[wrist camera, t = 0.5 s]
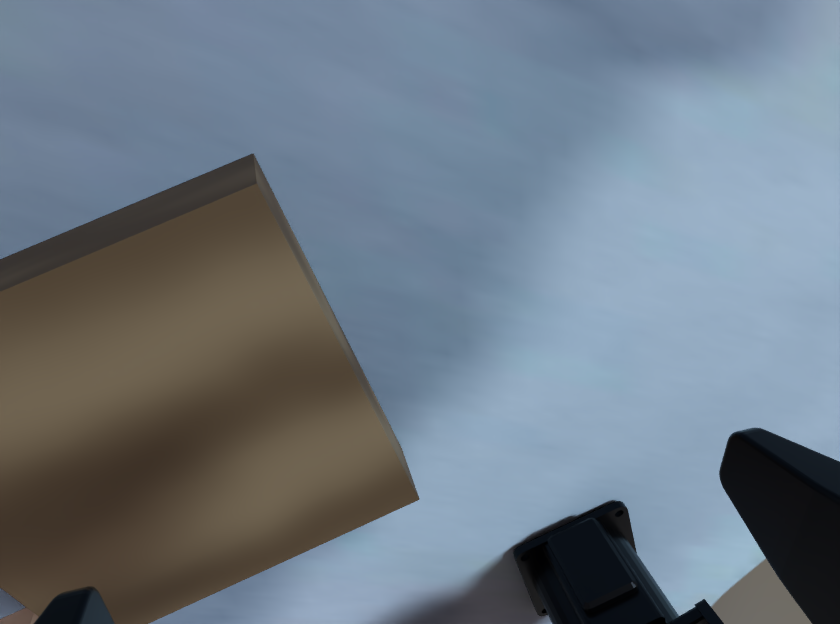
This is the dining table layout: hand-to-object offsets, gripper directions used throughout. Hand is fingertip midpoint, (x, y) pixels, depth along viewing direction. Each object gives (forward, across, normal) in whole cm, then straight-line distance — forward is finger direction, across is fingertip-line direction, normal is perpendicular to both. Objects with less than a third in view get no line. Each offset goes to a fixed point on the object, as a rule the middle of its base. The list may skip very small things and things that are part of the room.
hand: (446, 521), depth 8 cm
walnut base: (+14, +7, +7) cm, 17 cm away
